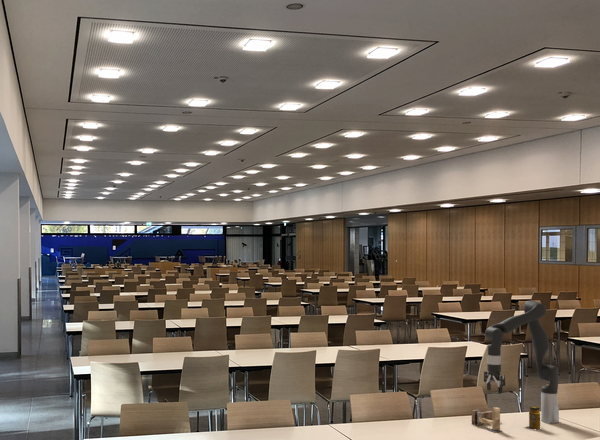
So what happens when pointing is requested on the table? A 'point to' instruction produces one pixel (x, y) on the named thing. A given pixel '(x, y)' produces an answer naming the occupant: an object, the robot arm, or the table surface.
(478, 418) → the wooden frame
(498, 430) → the foot pad
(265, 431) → the table surface
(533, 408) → the condiment
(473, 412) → the walnut rail
